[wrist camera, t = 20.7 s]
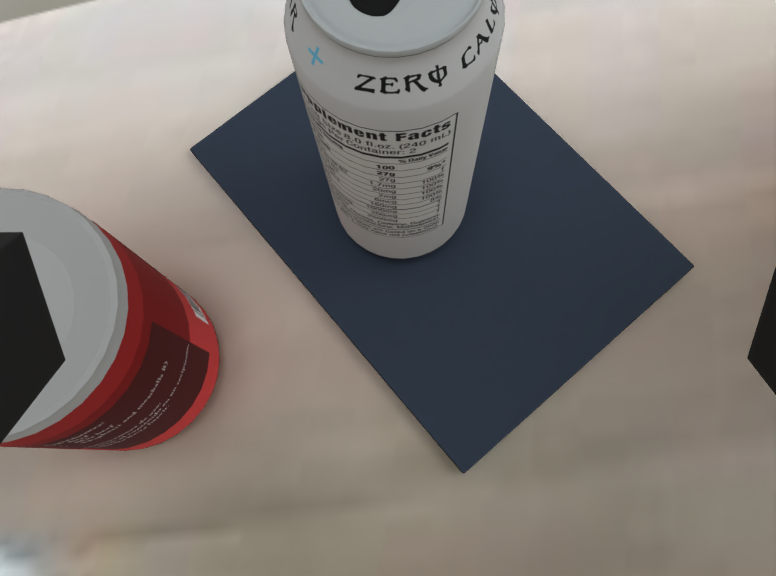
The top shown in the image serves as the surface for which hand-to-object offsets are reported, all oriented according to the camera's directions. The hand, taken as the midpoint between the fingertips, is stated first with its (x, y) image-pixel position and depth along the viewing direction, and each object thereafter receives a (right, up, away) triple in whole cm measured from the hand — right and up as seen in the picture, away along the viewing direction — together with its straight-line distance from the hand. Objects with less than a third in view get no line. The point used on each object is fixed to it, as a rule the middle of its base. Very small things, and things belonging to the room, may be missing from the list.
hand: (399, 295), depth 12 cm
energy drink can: (0, +4, +19) cm, 19 cm away
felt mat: (+2, +4, +19) cm, 20 cm away
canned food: (-11, -3, +18) cm, 21 cm away
